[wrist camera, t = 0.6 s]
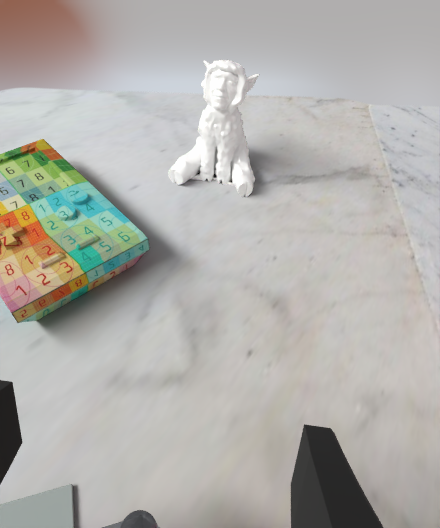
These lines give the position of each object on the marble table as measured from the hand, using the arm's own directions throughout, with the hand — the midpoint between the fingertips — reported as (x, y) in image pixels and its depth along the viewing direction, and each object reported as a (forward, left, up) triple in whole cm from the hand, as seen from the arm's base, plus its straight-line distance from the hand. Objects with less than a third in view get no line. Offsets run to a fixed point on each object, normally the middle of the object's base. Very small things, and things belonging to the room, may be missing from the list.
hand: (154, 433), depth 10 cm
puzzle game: (+25, +15, -18) cm, 34 cm away
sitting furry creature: (+36, -2, -18) cm, 40 cm away
